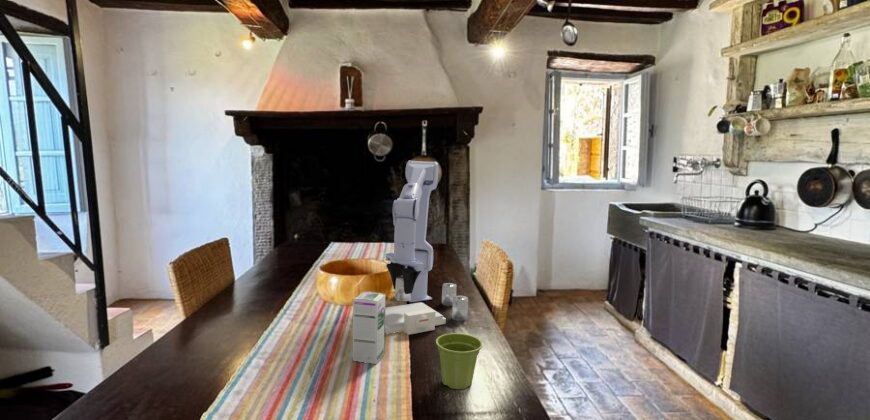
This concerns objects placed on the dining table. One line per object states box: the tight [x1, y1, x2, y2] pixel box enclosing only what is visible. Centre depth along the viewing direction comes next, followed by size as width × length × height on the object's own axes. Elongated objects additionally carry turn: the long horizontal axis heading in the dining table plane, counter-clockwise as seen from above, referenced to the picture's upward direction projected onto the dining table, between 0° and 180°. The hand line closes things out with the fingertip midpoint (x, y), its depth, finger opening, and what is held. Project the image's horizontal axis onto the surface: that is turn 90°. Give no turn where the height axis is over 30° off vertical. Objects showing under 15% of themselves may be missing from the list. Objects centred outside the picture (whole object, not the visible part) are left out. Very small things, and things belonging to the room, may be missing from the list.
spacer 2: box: [441, 282, 458, 307], centre depth 140 cm, size 4×4×6 cm
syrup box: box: [352, 291, 386, 365], centre depth 100 cm, size 6×6×14 cm
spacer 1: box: [394, 275, 411, 302], centre depth 123 cm, size 4×4×6 cm
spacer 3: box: [451, 295, 469, 322], centre depth 127 cm, size 4×4×6 cm
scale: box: [385, 301, 447, 336], centre depth 122 cm, size 15×18×5 cm
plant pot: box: [435, 332, 483, 390], centre depth 91 cm, size 9×9×9 cm
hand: (402, 290), depth 123 cm, fingers closed on spacer 1, 4 cm apart
